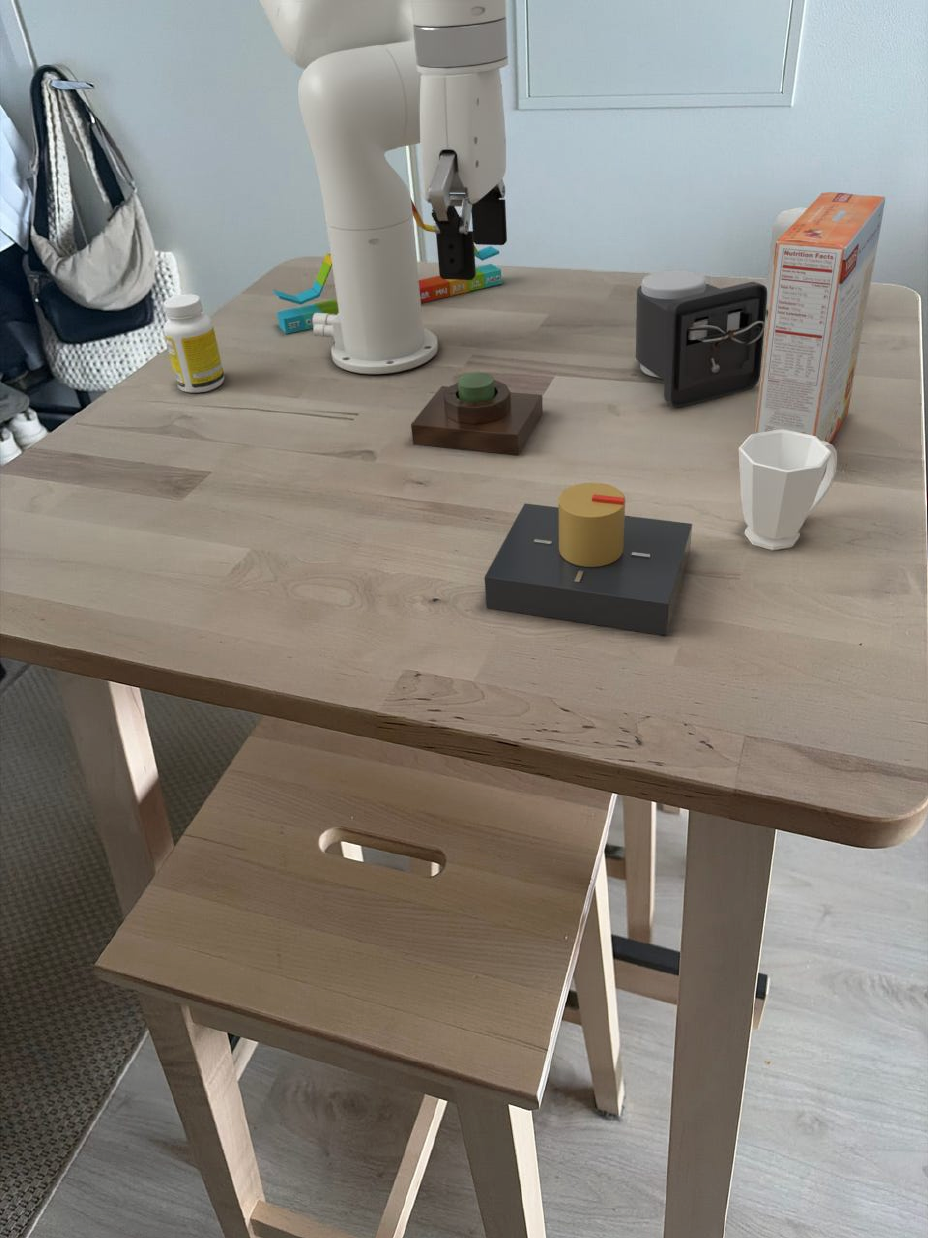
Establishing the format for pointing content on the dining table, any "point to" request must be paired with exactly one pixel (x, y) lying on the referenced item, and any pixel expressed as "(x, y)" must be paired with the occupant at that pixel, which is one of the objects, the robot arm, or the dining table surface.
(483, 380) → the switch
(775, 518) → the cup
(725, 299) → the light fixture
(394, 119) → the robot arm
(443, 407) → the lamp base
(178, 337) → the supplement bottle
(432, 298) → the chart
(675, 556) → the dimmer panel
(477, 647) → the dining table surface
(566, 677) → the dining table surface
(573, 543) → the dimmer
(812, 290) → the cracker box
